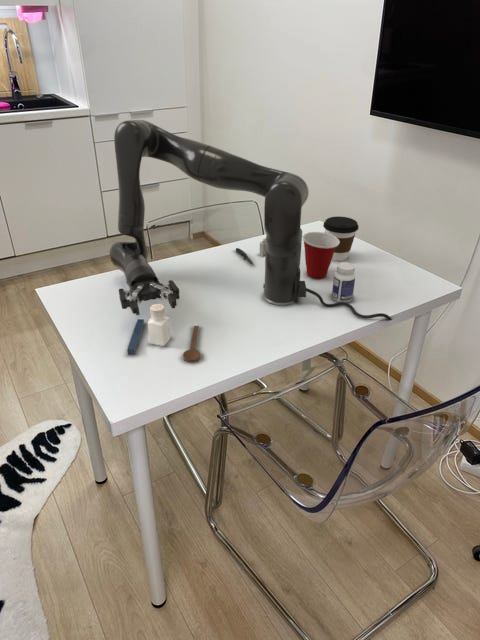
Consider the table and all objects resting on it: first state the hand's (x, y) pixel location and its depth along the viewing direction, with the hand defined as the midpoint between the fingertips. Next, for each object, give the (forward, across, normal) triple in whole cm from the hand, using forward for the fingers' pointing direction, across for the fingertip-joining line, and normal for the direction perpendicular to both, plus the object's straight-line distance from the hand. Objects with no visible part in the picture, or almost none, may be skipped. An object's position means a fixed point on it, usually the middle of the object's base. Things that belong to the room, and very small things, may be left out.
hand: (155, 308), depth 115 cm
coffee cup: (-24, +65, +8) cm, 70 cm away
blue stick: (-1, -5, +8) cm, 10 cm away
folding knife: (-34, +36, +8) cm, 50 cm away
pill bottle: (0, +52, +8) cm, 52 cm away
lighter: (-35, +46, +8) cm, 58 cm away
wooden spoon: (+6, +7, +8) cm, 12 cm away
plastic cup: (-15, +52, +8) cm, 55 cm away
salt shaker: (+2, 0, +8) cm, 8 cm away
